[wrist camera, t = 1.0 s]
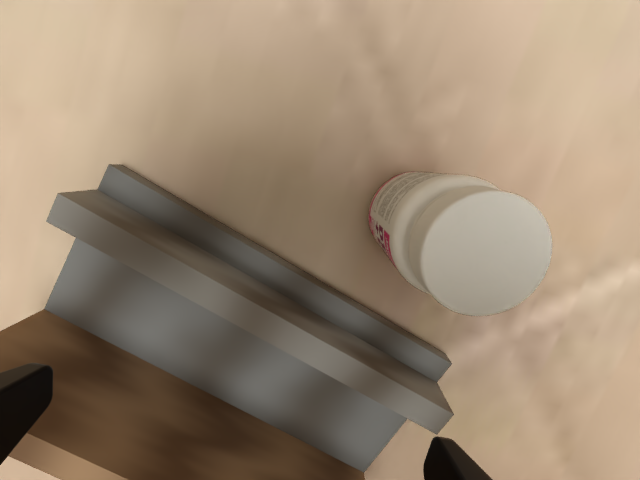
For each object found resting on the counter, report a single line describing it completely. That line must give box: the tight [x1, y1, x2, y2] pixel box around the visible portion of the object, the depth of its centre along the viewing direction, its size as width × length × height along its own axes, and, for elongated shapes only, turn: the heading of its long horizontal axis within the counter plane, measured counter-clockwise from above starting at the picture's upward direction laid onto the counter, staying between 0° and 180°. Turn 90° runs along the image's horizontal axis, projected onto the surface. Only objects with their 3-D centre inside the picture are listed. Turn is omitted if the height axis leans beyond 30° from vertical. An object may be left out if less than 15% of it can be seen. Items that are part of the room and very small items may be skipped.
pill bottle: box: [369, 172, 552, 316], centre depth 13 cm, size 5×5×8 cm
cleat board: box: [0, 164, 454, 480], centre depth 16 cm, size 22×11×7 cm, turn 58°
